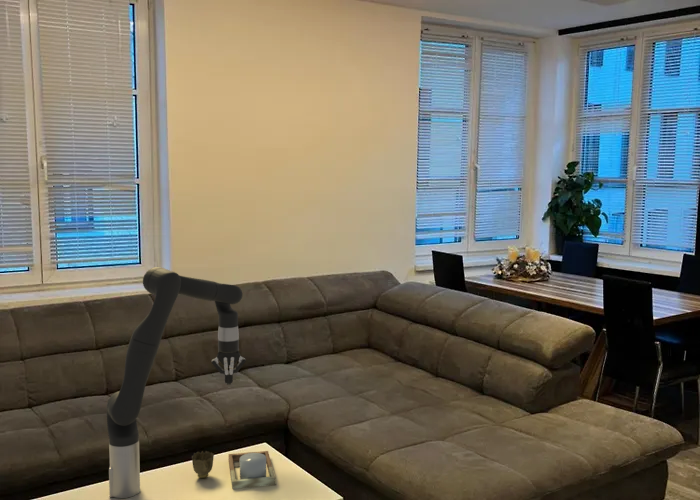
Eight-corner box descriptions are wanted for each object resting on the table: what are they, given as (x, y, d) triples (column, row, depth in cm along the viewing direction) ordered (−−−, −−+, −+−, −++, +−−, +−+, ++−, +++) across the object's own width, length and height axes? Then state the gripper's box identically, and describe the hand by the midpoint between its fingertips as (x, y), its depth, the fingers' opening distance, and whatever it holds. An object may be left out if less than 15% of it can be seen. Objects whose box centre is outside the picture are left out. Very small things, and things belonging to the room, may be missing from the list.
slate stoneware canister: (243, 486, 226) (242, 465, 225) (237, 475, 234) (237, 455, 233) (269, 482, 229) (269, 461, 228) (262, 471, 238) (262, 451, 237)
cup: (208, 483, 228) (208, 460, 227) (188, 480, 230) (188, 458, 229) (217, 473, 236) (217, 451, 235) (197, 471, 237) (197, 449, 236)
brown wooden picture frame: (232, 488, 224) (232, 481, 224) (228, 460, 246) (228, 454, 246) (275, 484, 227) (275, 477, 227) (268, 457, 250) (267, 450, 249)
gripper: (210, 341, 243) (210, 388, 244) (247, 339, 246) (247, 386, 247) (209, 336, 250) (210, 382, 252) (245, 335, 253) (246, 380, 255)
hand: (228, 383), depth 249 cm, fingers closed
